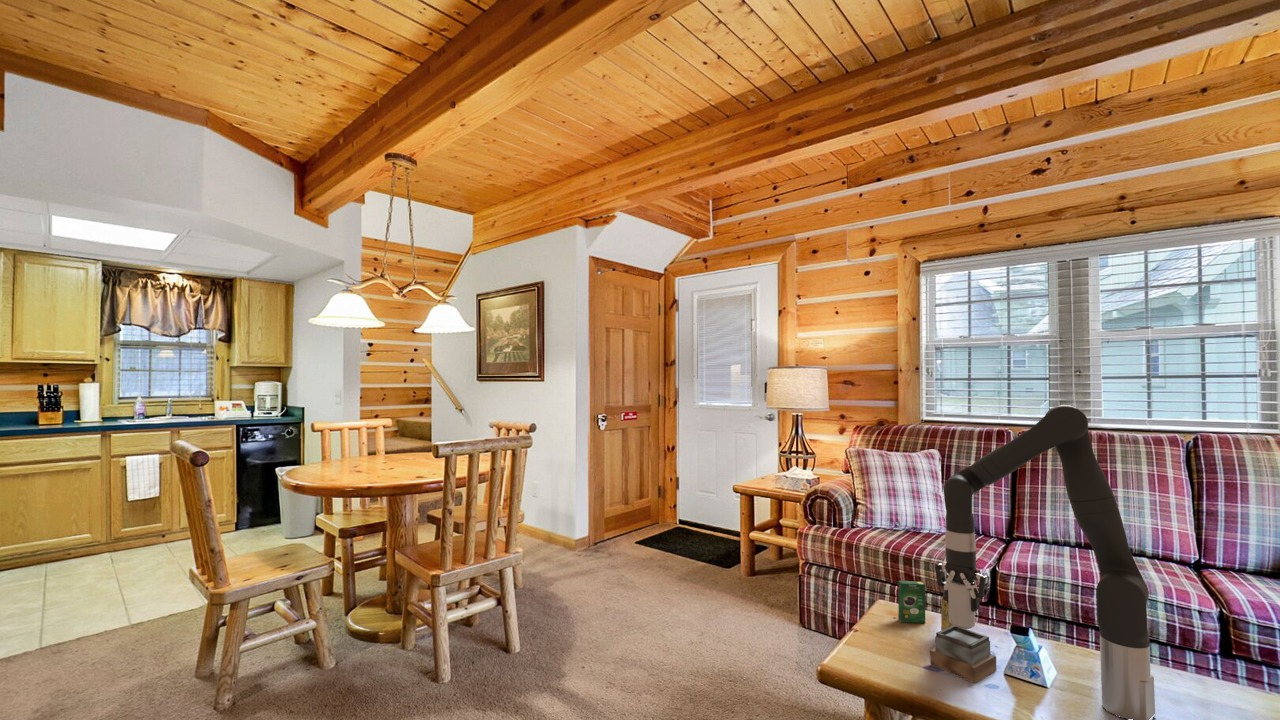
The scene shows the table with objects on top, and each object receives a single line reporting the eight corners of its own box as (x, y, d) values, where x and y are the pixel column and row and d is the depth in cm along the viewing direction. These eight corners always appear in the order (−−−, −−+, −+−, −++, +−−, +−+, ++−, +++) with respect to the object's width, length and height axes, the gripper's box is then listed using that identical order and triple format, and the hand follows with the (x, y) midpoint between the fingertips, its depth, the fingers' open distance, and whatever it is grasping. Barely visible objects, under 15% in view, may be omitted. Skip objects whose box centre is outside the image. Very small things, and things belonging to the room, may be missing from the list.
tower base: (996, 670, 156) (995, 637, 156) (974, 683, 150) (973, 649, 150) (952, 653, 166) (951, 622, 166) (930, 664, 160) (929, 632, 160)
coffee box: (922, 620, 189) (922, 580, 190) (926, 623, 186) (925, 583, 187) (898, 619, 190) (897, 579, 190) (901, 622, 187) (900, 583, 187)
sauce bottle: (936, 635, 178) (935, 571, 179) (952, 632, 180) (950, 569, 181) (953, 644, 172) (952, 578, 173) (969, 641, 174) (968, 576, 174)
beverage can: (978, 631, 155) (977, 586, 155) (953, 629, 156) (952, 585, 156) (970, 621, 161) (969, 578, 161) (945, 619, 162) (944, 577, 163)
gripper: (994, 550, 155) (996, 612, 154) (942, 538, 167) (943, 596, 166) (980, 555, 151) (982, 619, 150) (928, 542, 163) (929, 601, 162)
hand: (962, 606), depth 158 cm, fingers closed on beverage can, 6 cm apart
